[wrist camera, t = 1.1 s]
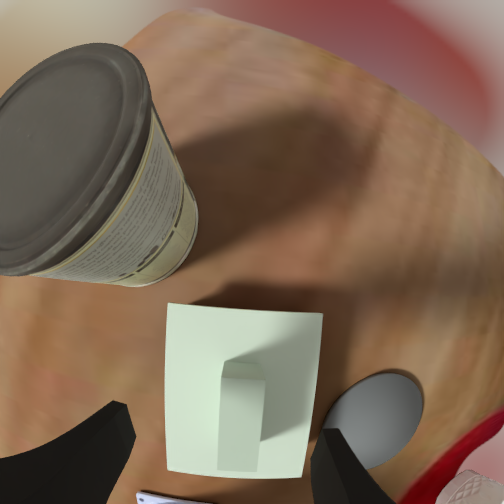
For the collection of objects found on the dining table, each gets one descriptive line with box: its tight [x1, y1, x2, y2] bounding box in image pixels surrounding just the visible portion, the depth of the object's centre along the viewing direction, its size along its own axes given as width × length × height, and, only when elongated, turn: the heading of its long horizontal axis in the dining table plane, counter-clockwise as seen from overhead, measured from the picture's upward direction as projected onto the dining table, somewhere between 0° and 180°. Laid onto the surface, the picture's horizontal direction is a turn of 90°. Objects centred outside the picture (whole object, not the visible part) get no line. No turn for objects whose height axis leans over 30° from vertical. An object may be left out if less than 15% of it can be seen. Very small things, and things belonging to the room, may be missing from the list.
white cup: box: [436, 470, 504, 504], centre depth 13 cm, size 8×8×10 cm
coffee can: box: [0, 43, 198, 287], centre depth 14 cm, size 10×10×14 cm
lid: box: [165, 303, 323, 479], centre depth 15 cm, size 13×10×4 cm
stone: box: [322, 373, 422, 469], centre depth 19 cm, size 10×10×1 cm
